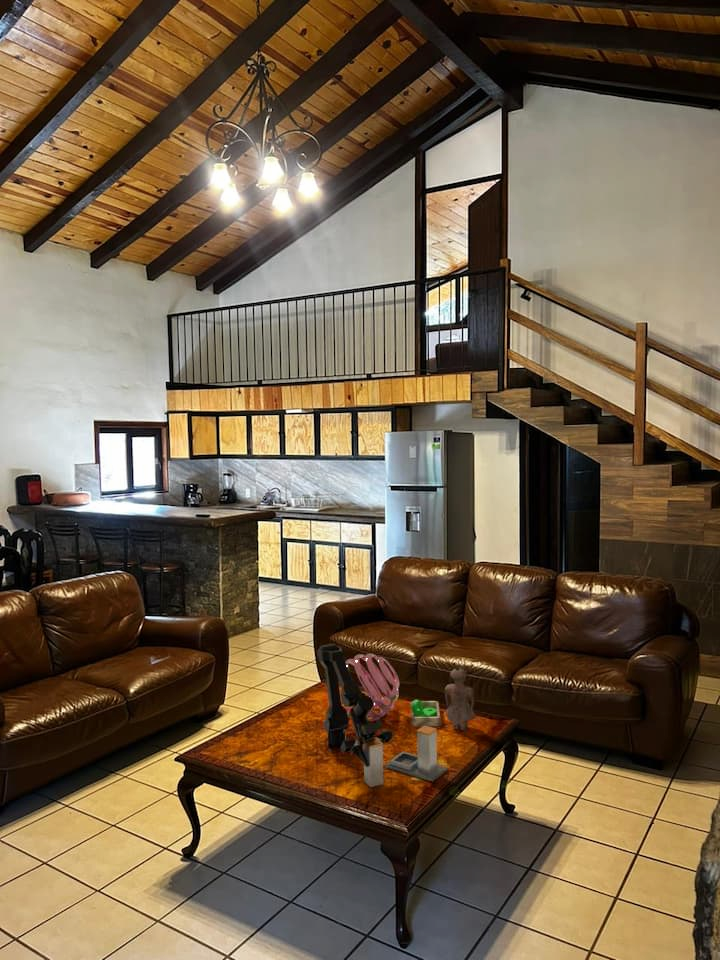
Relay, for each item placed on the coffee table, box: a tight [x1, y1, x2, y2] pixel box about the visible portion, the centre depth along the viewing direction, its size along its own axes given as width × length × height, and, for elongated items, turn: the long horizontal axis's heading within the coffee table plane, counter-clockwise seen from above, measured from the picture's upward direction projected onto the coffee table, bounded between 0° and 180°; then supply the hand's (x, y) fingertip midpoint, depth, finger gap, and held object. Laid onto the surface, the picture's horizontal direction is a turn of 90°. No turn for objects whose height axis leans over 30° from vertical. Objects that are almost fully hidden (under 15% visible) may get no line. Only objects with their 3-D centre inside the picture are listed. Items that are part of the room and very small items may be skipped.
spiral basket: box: [345, 653, 400, 722], centre depth 306 cm, size 28×28×27 cm
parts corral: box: [410, 700, 441, 727], centre depth 303 cm, size 12×18×4 cm, turn 177°
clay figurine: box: [444, 667, 476, 731], centre depth 290 cm, size 13×10×25 cm
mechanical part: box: [410, 699, 437, 717], centre depth 303 cm, size 12×6×8 cm, turn 138°
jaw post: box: [363, 737, 384, 788], centre depth 248 cm, size 5×5×15 cm
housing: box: [384, 725, 448, 783], centre depth 256 cm, size 20×10×16 cm, turn 54°
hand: (374, 764), depth 246 cm, fingers closed on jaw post, 5 cm apart
